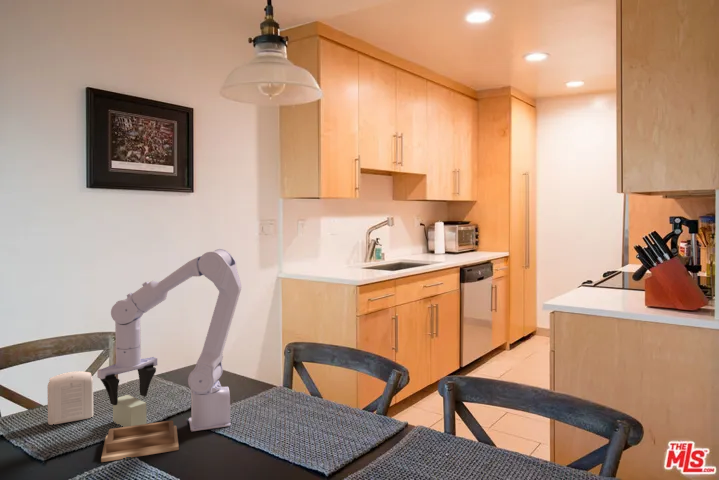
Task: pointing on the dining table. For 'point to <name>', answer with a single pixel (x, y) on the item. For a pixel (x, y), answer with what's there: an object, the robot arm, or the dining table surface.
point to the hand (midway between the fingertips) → (129, 399)
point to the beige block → (129, 411)
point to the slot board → (140, 440)
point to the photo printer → (70, 397)
